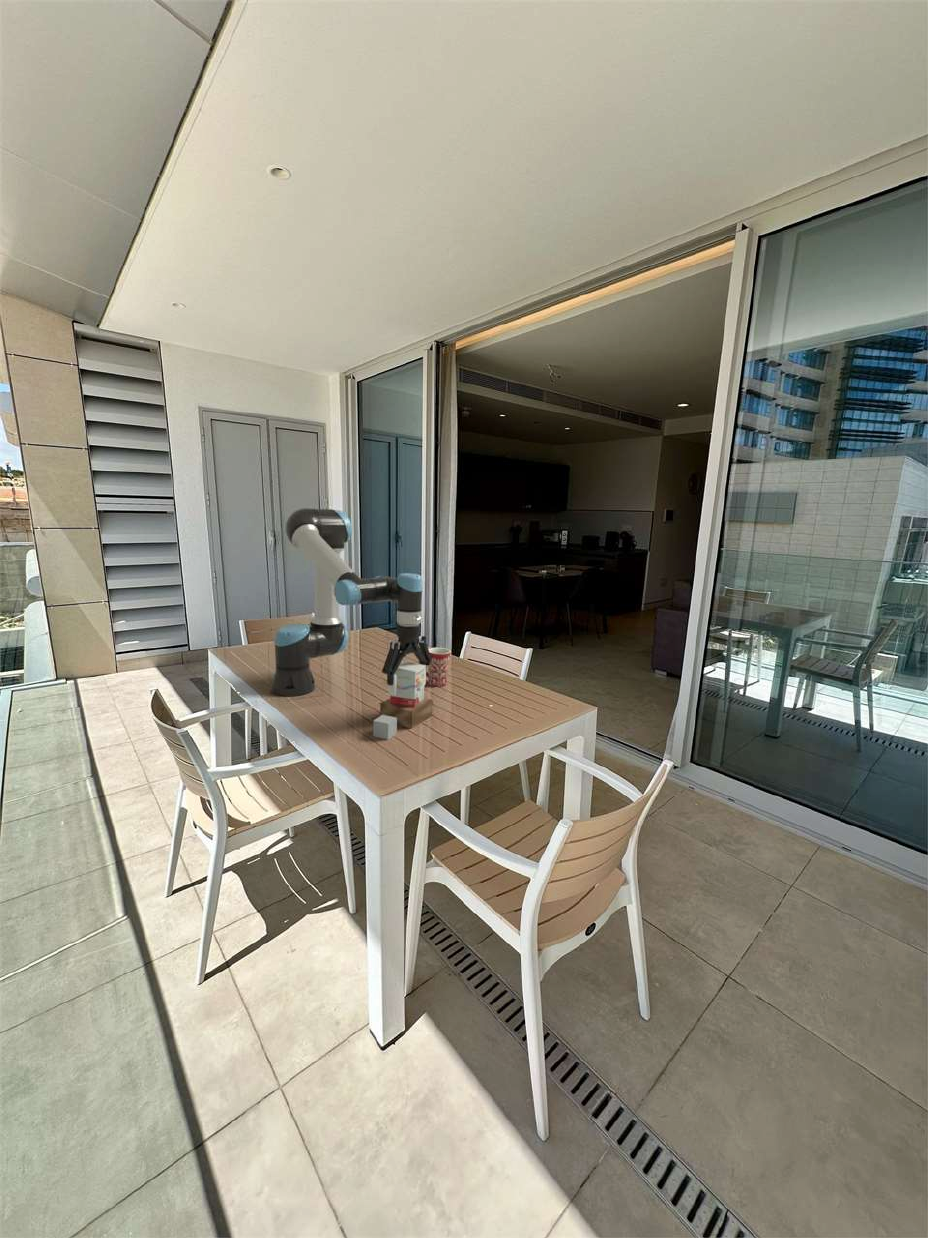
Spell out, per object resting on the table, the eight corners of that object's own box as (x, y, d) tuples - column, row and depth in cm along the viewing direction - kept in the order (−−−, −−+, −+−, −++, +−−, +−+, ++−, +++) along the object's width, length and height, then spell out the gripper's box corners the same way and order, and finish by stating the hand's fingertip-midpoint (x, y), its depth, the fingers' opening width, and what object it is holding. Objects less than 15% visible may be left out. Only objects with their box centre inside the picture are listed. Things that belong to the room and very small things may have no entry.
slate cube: (373, 736, 146) (373, 720, 145) (382, 730, 151) (382, 714, 150) (388, 740, 145) (388, 723, 144) (396, 733, 149) (396, 717, 148)
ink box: (414, 707, 155) (415, 671, 152) (389, 703, 157) (390, 667, 155) (424, 698, 163) (425, 663, 160) (400, 695, 165) (401, 660, 163)
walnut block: (380, 721, 158) (380, 703, 157) (401, 709, 169) (402, 692, 168) (411, 729, 153) (412, 711, 152) (432, 717, 163) (432, 699, 162)
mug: (452, 682, 197) (454, 649, 195) (444, 689, 189) (445, 654, 186) (423, 677, 202) (424, 645, 199) (413, 684, 193) (414, 650, 190)
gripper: (388, 632, 143) (387, 702, 147) (443, 620, 162) (441, 682, 166) (370, 627, 147) (369, 696, 151) (426, 616, 167) (424, 677, 171)
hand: (407, 689), depth 159 cm, fingers open, 13 cm apart
